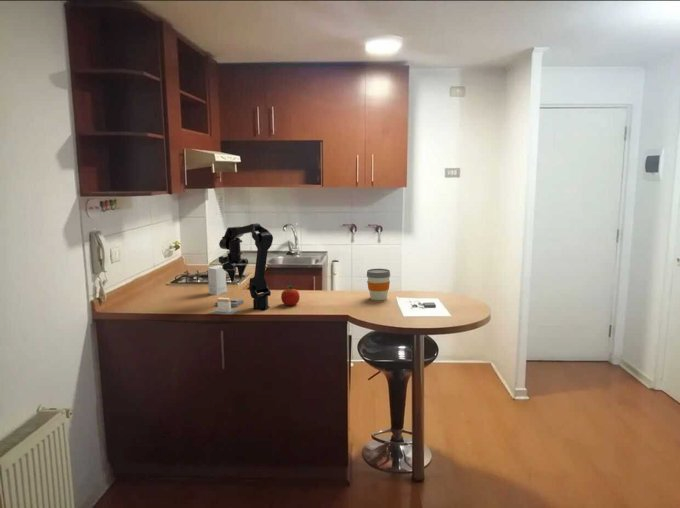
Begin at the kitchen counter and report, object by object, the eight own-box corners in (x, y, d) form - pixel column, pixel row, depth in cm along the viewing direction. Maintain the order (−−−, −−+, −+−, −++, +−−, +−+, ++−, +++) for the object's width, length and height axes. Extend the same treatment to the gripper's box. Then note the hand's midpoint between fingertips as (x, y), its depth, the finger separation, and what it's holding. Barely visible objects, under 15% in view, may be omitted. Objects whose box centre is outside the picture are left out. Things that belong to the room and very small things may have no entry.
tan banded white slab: (231, 310, 248) (230, 298, 247) (229, 312, 246) (228, 299, 245) (220, 310, 249) (219, 297, 248) (218, 311, 248) (217, 298, 246)
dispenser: (243, 303, 264) (243, 299, 263) (236, 307, 256) (236, 303, 255) (223, 302, 267) (222, 298, 266) (215, 306, 259) (215, 301, 259)
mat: (239, 310, 250) (239, 309, 250) (232, 315, 242) (232, 314, 242) (217, 309, 253) (217, 308, 253) (209, 313, 246) (209, 312, 245)
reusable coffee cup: (363, 299, 268) (362, 272, 265) (372, 294, 279) (372, 267, 276) (384, 302, 262) (384, 273, 260) (393, 296, 273) (393, 269, 271)
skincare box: (219, 291, 293) (217, 265, 291) (227, 292, 290) (226, 265, 287) (208, 294, 286) (207, 267, 284) (217, 295, 283) (215, 268, 280)
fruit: (283, 307, 254) (282, 288, 253) (280, 303, 263) (279, 284, 262) (301, 306, 257) (301, 287, 255) (298, 301, 266) (297, 283, 264)
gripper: (229, 247, 274) (230, 275, 277) (212, 253, 256) (213, 283, 259) (248, 248, 271) (249, 276, 274) (232, 253, 254) (233, 283, 256)
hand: (236, 279), depth 266 cm, fingers open, 9 cm apart
